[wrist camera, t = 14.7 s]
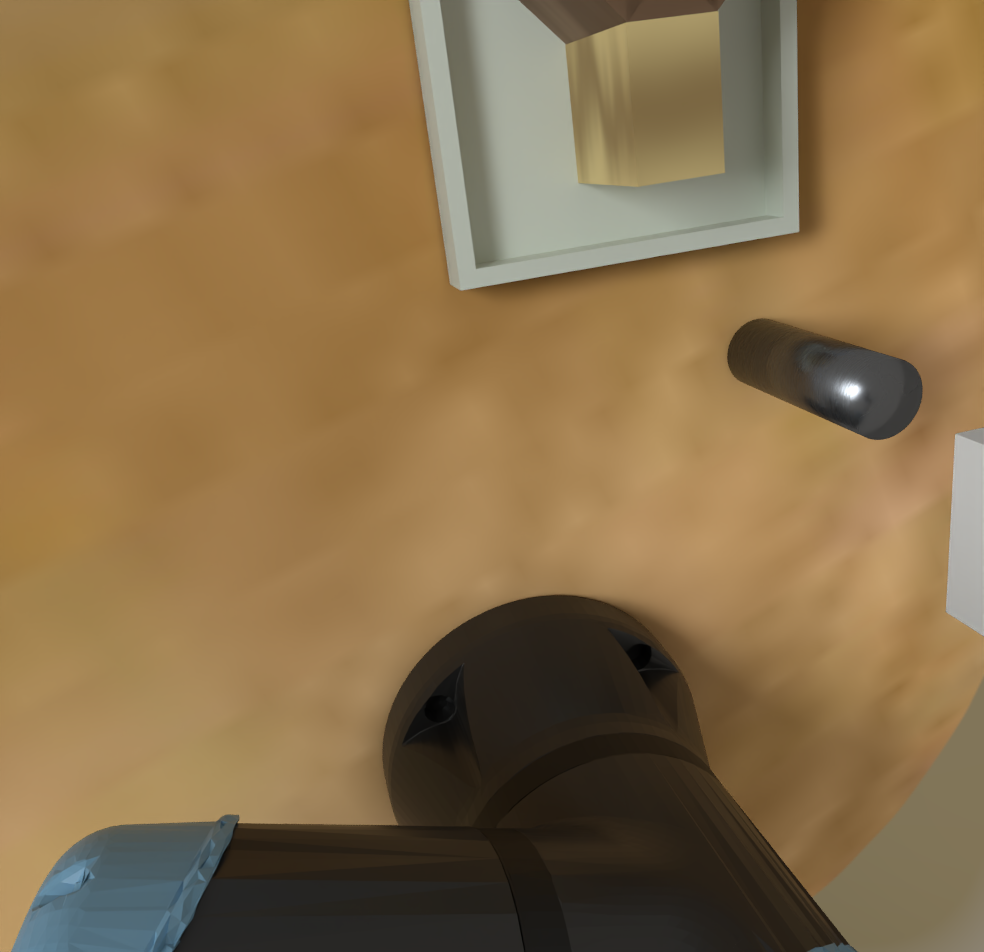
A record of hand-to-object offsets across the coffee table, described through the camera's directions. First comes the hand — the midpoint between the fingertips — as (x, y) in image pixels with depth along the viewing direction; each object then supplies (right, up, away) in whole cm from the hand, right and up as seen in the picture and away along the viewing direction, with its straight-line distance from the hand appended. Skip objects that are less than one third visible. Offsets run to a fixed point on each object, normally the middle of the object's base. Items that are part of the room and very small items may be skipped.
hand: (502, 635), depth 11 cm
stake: (+12, +8, +30) cm, 33 cm away
